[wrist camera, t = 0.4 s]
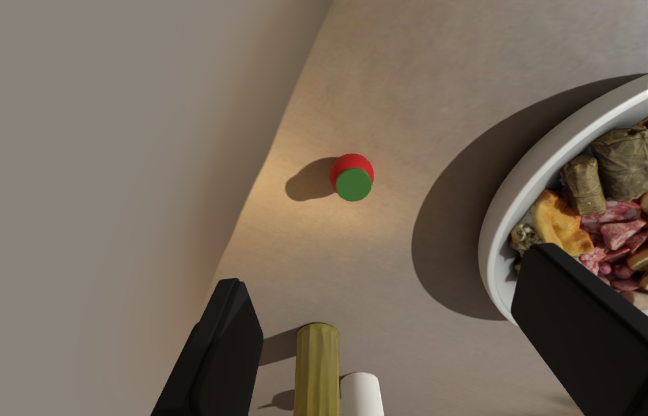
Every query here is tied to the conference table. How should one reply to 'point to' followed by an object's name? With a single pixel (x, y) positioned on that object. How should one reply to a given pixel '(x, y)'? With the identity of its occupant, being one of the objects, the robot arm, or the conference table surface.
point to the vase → (317, 371)
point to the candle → (361, 395)
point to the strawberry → (351, 177)
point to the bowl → (578, 199)
